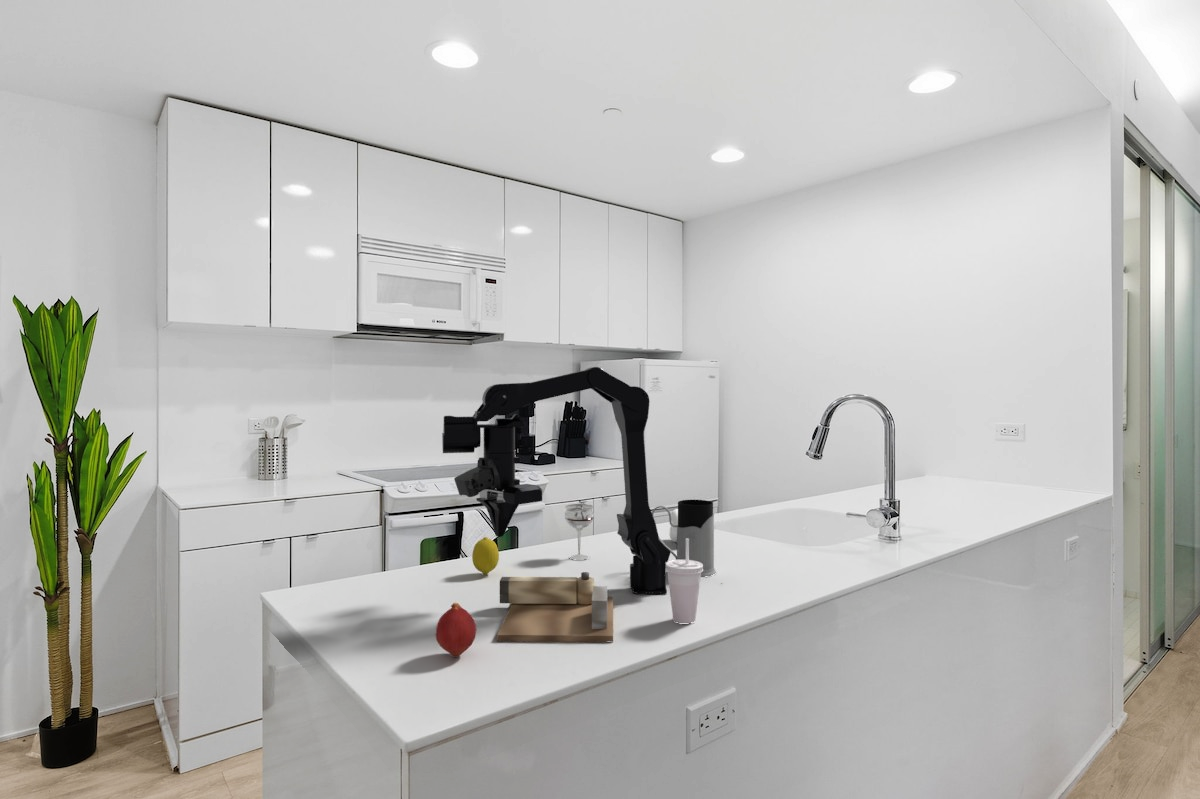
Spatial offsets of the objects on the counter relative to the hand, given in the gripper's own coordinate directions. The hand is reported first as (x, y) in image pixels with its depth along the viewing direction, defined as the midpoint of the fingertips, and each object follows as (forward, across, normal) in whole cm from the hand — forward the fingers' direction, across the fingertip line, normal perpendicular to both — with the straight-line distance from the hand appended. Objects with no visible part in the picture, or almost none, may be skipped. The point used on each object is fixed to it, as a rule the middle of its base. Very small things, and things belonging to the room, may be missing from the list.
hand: (499, 536), depth 126 cm
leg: (+11, +9, +4) cm, 15 cm away
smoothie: (+12, +30, +16) cm, 37 cm away
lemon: (+12, -17, +8) cm, 23 cm away
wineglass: (+12, -14, +32) cm, 38 cm away
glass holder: (+12, +10, +41) cm, 44 cm away
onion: (+12, +17, -20) cm, 29 cm away
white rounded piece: (+12, -6, +62) cm, 64 cm away
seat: (+12, +16, +1) cm, 20 cm away
